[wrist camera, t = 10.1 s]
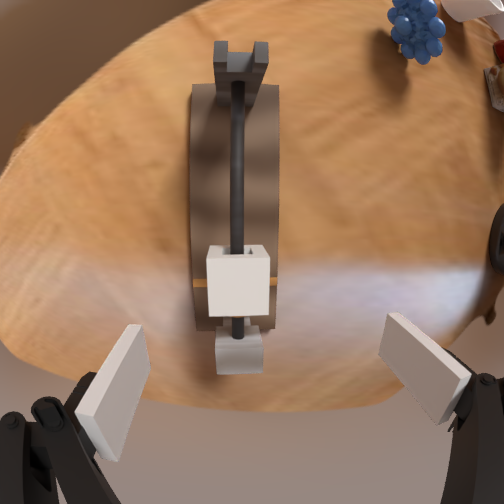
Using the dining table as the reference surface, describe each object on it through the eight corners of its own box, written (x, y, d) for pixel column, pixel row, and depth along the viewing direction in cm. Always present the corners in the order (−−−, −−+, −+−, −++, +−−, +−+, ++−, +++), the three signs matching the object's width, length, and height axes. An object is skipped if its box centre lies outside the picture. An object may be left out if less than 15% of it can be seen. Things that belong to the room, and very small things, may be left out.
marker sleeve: (210, 245, 26) (206, 258, 21) (262, 244, 27) (270, 257, 22) (211, 294, 27) (209, 316, 23) (261, 293, 28) (268, 314, 23)
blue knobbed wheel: (356, 12, 27) (392, -27, 15) (387, 12, 26) (425, -21, 15) (393, 74, 29) (443, 46, 18) (421, 70, 29) (470, 48, 18)
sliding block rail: (193, 88, 28) (175, 33, 15) (276, 89, 29) (306, 37, 16) (197, 325, 35) (186, 393, 22) (273, 323, 36) (295, 388, 23)
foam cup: (450, -4, 24) (483, -24, 12) (472, 28, 27) (509, 13, 14) (428, -8, 25) (463, -32, 12) (453, 27, 27) (493, 8, 14)
